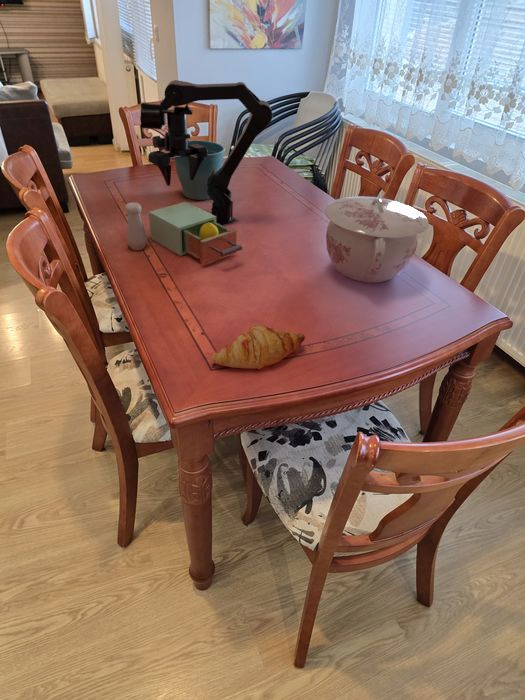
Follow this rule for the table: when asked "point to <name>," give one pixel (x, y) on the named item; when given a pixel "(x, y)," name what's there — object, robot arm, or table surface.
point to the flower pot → (199, 170)
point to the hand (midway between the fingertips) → (180, 182)
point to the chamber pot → (372, 236)
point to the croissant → (258, 348)
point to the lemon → (208, 231)
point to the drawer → (209, 243)
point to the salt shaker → (135, 227)
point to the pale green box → (175, 224)
